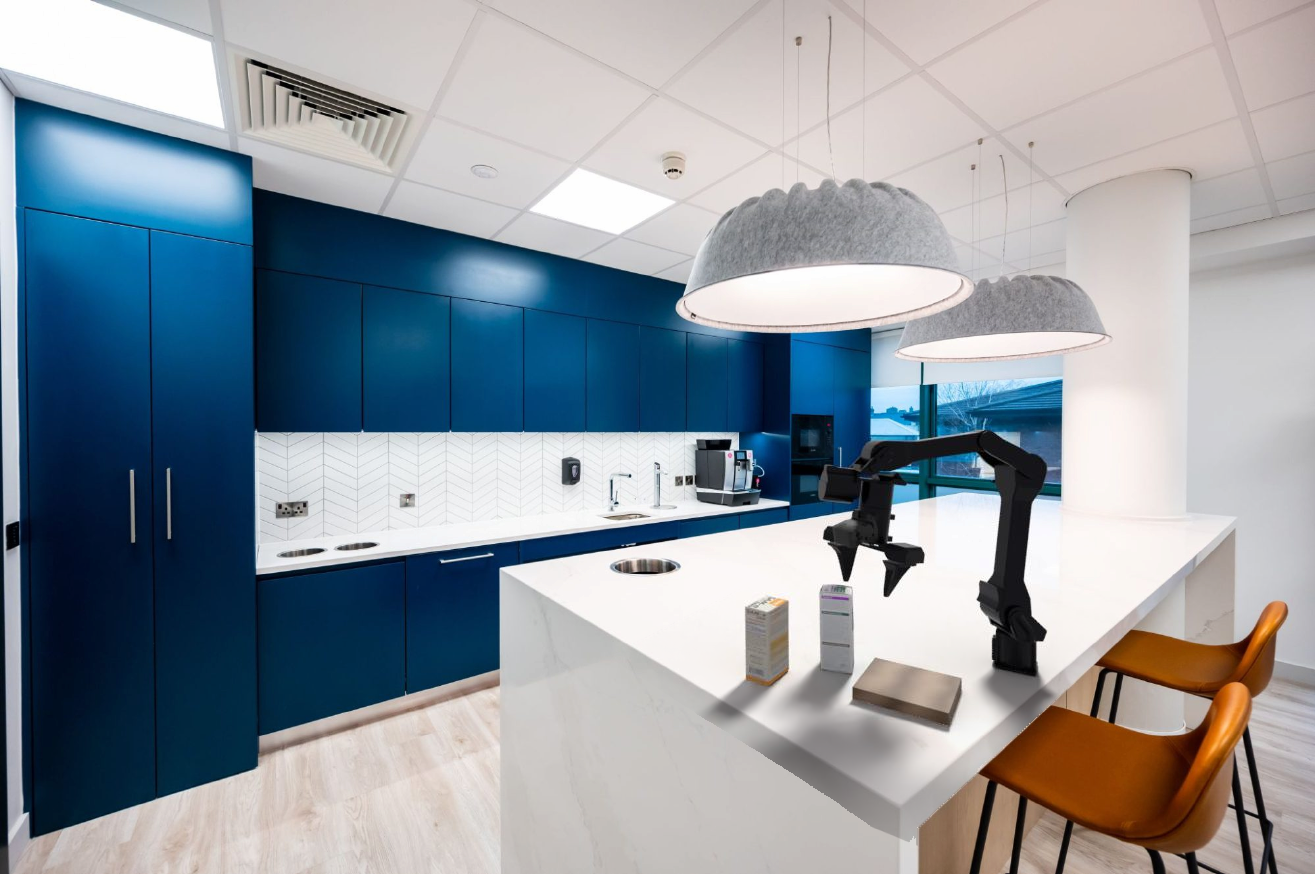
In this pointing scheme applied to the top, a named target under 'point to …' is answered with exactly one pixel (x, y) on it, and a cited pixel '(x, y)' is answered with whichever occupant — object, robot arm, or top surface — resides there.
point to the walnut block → (909, 690)
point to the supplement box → (767, 639)
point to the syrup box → (836, 628)
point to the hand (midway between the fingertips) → (865, 588)
